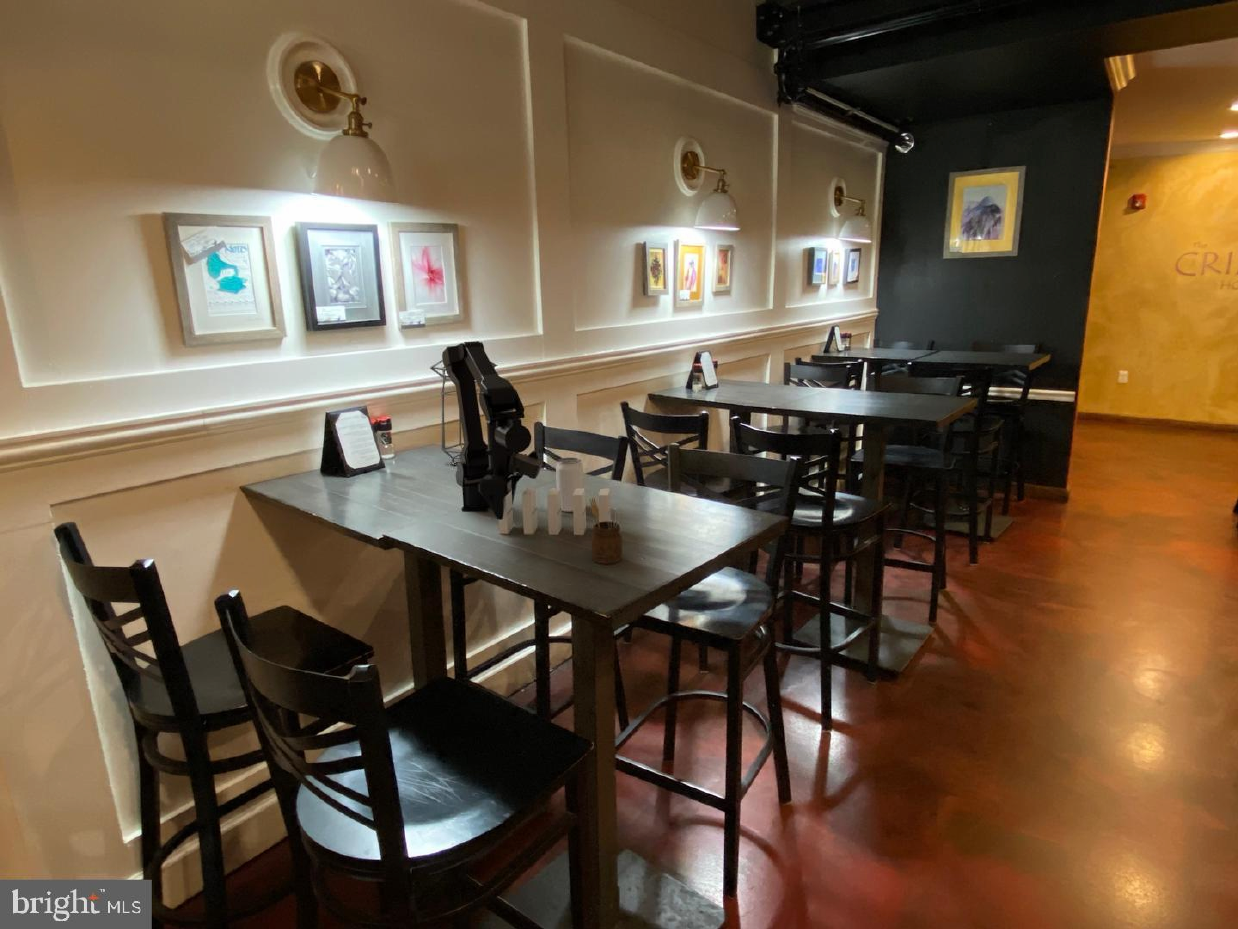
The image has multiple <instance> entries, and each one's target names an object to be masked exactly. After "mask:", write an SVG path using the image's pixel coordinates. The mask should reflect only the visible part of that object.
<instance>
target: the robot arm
mask: <svg viewBox="0 0 1238 929" xmlns="http://www.w3.org/2000/svg"><path fill="white" fill-rule="evenodd" d="M441 358H442V359H441V360H442V361H443V362H442V364H443V367H444V366H445V367H446V371H445V373H446V376H449V377H450V378H451V380H452V381H453V382H454V383H455V385H456V386H455V385H454V386H455V391H457V392H456V394H457V395H456V397H457V405H458V412H459V411H460V418H461V432H462V438H463V443H464V445H462V446H463V447H462V448H463V449H461V451H460V452H461V453H459V454H460V456H458V458H460V459H459V460H460V462H458V466H457V468H456V471H455V474H454V476H455V481H456V484H458V486H460V488H462V490H461V492H462V501H463V503H462V505H463V506H462V507H461V508H460V509H461V511H466V512H467V511H469V512H470V511H471V512H473V511H474V512H475V511H476V512H477V511H478V512H479V511H481V512H485V511H486V512H487V511H489V509H491V510H492V512H493V514H494V516H495V517H496V519H497V520H502V519H503V514H504V505H505V497H506V496H507V495H508V494H509V492H510V491H511V490H512V507H513V505H514V501H515V495H516V492H517V491H516V490H517V487H518V486H517V485H518V482H519V481H520V480H521V479H522V477H523V476H526V477H528V478H529V479H534V480H535V479H537V477H538V476H539V475H540V472H541V468H542V466H543V459H541V456H540V452H538V451H536V450H532V451H531V452H529V454H528V455H527V453H525V454H523V453H522V452H525V451H526V450H527V449H528V448H529V446H531V442H532V434H531V432H530V430H529V429H528V428H527V427H526V426H525V425H523V424H522V419H525V416H526V415H525V413H524V412H525V408H524V404H523V403H522V400H521V398H520V395H519V392H518V391H517V389H515V387H514V385H513V384H512V383H511V381H509V380H508V379H507V378H504V377H501V376H500V375H499V374H498V372H497V370H496V369H495V368H496V367H495V368H494V367H493V365H492V363H493V362H492V361H491V360H490V358H489V356H488V355H487V353H486V351H485V346H484V343H483V342H482V341H481V342H480V340H479V341H478V340H477V341H476V340H475V341H463V342H462V343H459V344H457V345H451V346H450V345H449V346H446V348H445V349H444V350H443V351H442V354H441ZM491 362H492V363H491ZM450 378H449V379H450ZM451 380H450V381H451ZM452 381H451V382H452ZM475 381H476V383H475ZM453 382H452V383H453ZM454 383H453V384H454ZM476 384H477V386H478V387H479V390H480V391H479V393H480V394H478V395H477V392H478V391H476V390H477V386H476ZM480 410H481V411H482V413H483V415H484V419H485V421H486V436H487V443H486V442H485V439H484V433H483V427H482V419H481V413H480ZM487 444H488V446H487Z"/></svg>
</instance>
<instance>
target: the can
mask: <svg viewBox="0 0 1238 929" xmlns="http://www.w3.org/2000/svg"><path fill="white" fill-rule="evenodd" d="M555 478H556V483H555V484H556V488H560V492H561V512H565V513H573V493H574V491H575V490H576V489H585V488H584V487H585V486H584V466H583V464H582V459H581V458H578V457H562V458H560V459H558V460H557V464H556V466H555Z"/></svg>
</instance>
